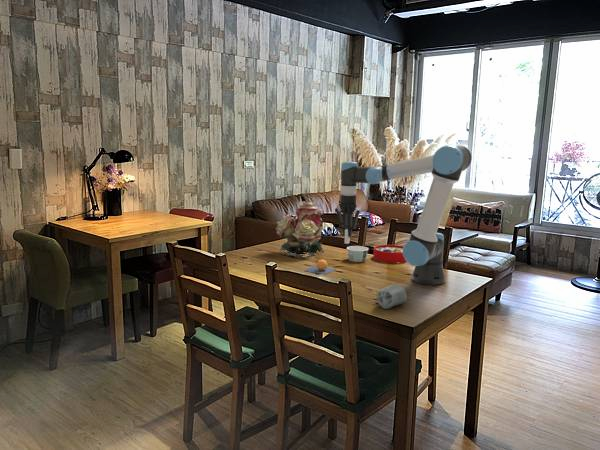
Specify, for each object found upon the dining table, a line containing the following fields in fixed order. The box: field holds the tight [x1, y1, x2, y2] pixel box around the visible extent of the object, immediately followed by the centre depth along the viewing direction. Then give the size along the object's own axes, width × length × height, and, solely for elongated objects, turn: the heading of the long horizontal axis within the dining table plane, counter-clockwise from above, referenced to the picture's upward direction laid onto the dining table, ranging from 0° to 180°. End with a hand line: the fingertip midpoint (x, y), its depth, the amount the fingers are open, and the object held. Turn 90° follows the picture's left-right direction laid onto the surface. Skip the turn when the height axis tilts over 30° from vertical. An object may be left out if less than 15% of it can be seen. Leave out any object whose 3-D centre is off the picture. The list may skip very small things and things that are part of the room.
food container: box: [346, 245, 369, 263], centre depth 277 cm, size 12×12×6 cm
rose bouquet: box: [275, 200, 325, 259], centre depth 289 cm, size 26×29×30 cm
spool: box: [376, 284, 408, 310], centre depth 202 cm, size 14×10×10 cm
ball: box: [316, 259, 328, 271], centre depth 254 cm, size 6×6×6 cm
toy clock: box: [373, 244, 408, 264], centre depth 281 cm, size 20×6×20 cm
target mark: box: [304, 265, 336, 275], centre depth 255 cm, size 12×12×1 cm
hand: (347, 243), depth 246 cm, fingers closed
